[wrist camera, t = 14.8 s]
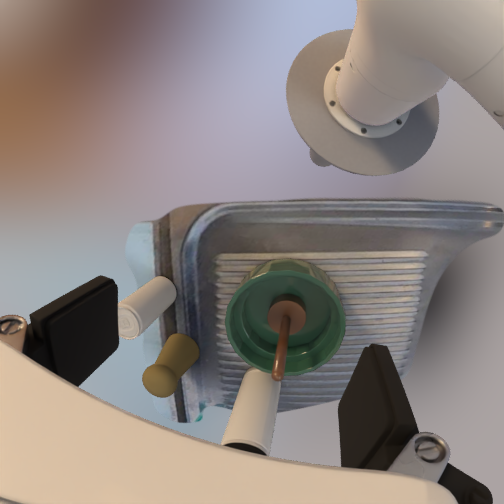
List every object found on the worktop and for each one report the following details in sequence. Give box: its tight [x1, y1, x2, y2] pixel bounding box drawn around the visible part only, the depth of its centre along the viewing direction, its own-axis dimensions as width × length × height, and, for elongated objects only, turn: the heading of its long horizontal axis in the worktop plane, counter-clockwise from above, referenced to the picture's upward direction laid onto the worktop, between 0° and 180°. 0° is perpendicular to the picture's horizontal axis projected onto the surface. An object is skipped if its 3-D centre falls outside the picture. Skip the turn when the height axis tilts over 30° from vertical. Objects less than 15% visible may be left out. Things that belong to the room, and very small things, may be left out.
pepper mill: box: [142, 333, 200, 398], centre depth 42 cm, size 6×6×11 cm
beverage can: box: [118, 276, 176, 340], centre depth 39 cm, size 5×5×12 cm
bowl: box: [225, 258, 345, 376], centre depth 39 cm, size 15×15×6 cm
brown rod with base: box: [267, 294, 306, 382], centre depth 34 cm, size 5×5×16 cm
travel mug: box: [221, 367, 281, 456], centre depth 36 cm, size 6×7×20 cm
